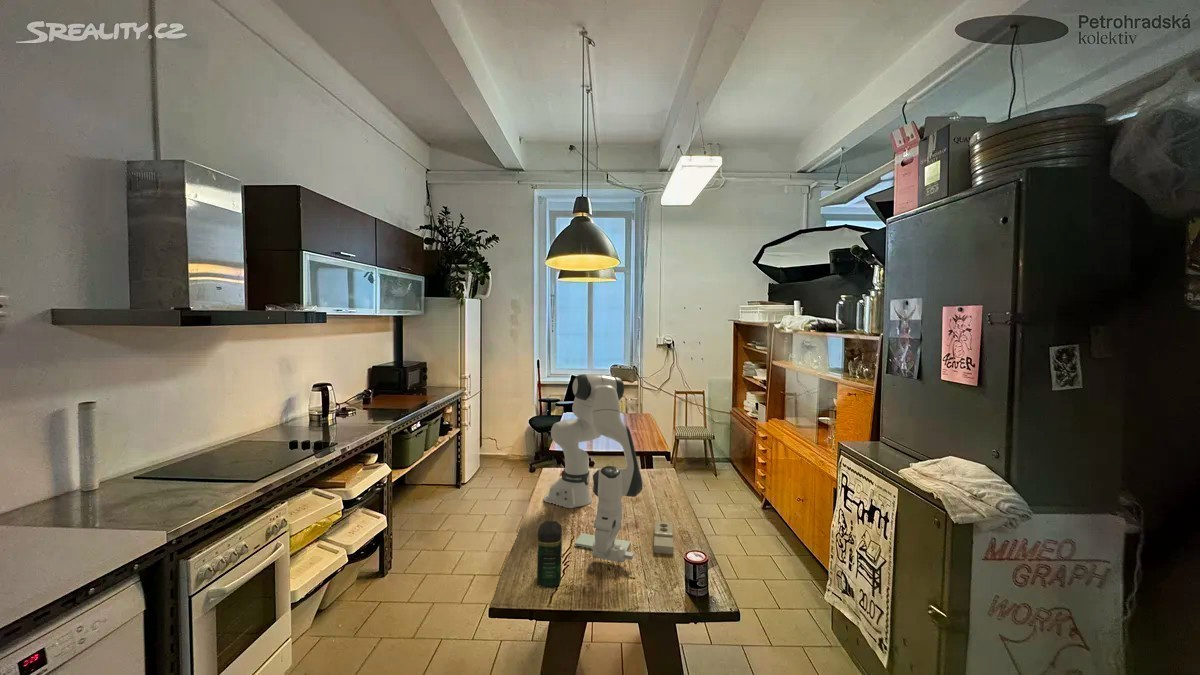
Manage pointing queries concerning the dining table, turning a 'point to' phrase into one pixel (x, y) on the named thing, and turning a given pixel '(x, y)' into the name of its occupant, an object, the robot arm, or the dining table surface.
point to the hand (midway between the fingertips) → (609, 552)
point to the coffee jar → (549, 554)
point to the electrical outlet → (663, 537)
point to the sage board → (588, 541)
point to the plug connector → (614, 553)
